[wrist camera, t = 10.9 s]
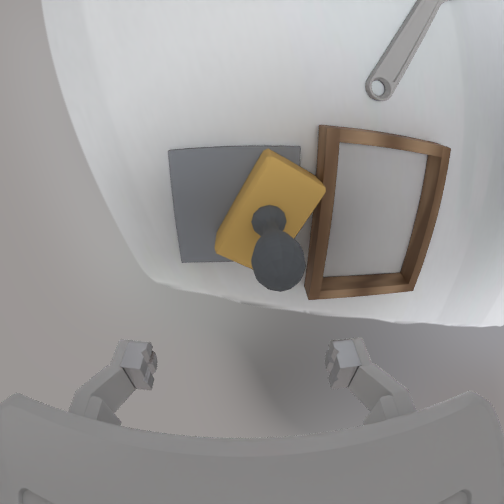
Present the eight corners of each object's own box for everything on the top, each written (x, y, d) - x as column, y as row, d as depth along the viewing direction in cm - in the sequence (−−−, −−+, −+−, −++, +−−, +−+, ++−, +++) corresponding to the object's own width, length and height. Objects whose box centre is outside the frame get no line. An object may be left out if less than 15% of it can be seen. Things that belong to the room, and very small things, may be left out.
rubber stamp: (264, 146, 23) (286, 186, 13) (317, 177, 25) (370, 236, 15) (215, 233, 28) (203, 320, 17) (265, 256, 29) (278, 345, 19)
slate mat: (299, 146, 24) (300, 147, 23) (292, 256, 30) (293, 259, 30) (169, 149, 23) (168, 151, 23) (182, 259, 30) (181, 262, 29)
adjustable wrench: (378, 106, 22) (386, 107, 21) (328, 65, 20) (334, 63, 19) (461, -10, 12) (469, -12, 10) (424, -46, 10) (432, -50, 8)
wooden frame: (437, 143, 23) (450, 148, 21) (404, 279, 33) (412, 290, 31) (319, 124, 23) (327, 127, 21) (304, 286, 32) (308, 299, 30)
